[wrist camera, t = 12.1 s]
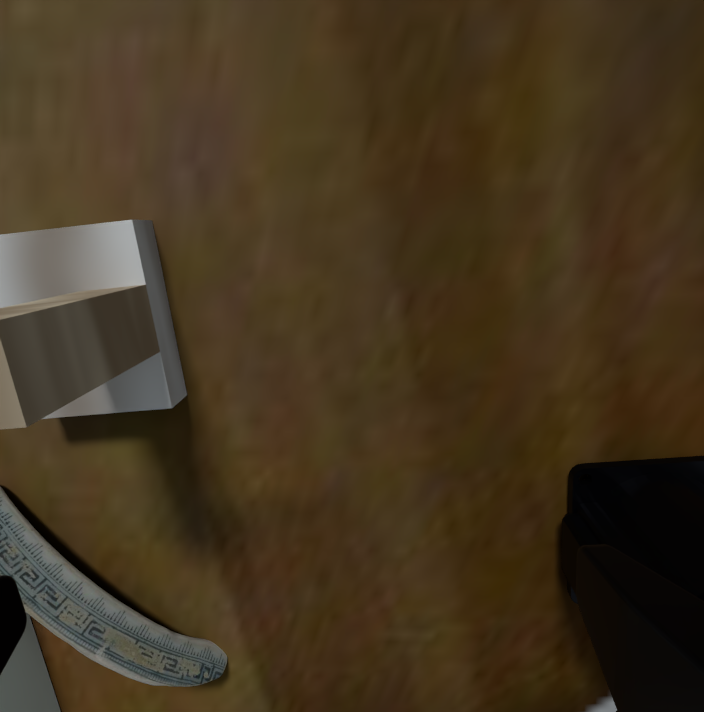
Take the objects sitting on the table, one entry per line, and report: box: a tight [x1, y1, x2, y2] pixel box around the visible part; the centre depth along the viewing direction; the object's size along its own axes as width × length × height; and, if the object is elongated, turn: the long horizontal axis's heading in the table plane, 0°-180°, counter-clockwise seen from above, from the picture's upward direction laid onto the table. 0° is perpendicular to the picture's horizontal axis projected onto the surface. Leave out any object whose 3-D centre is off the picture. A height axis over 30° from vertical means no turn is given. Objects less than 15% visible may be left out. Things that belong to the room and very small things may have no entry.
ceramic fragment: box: [0, 486, 228, 687], centre depth 21 cm, size 14×5×4 cm, turn 44°
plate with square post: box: [0, 220, 187, 429], centre depth 15 cm, size 6×7×9 cm
